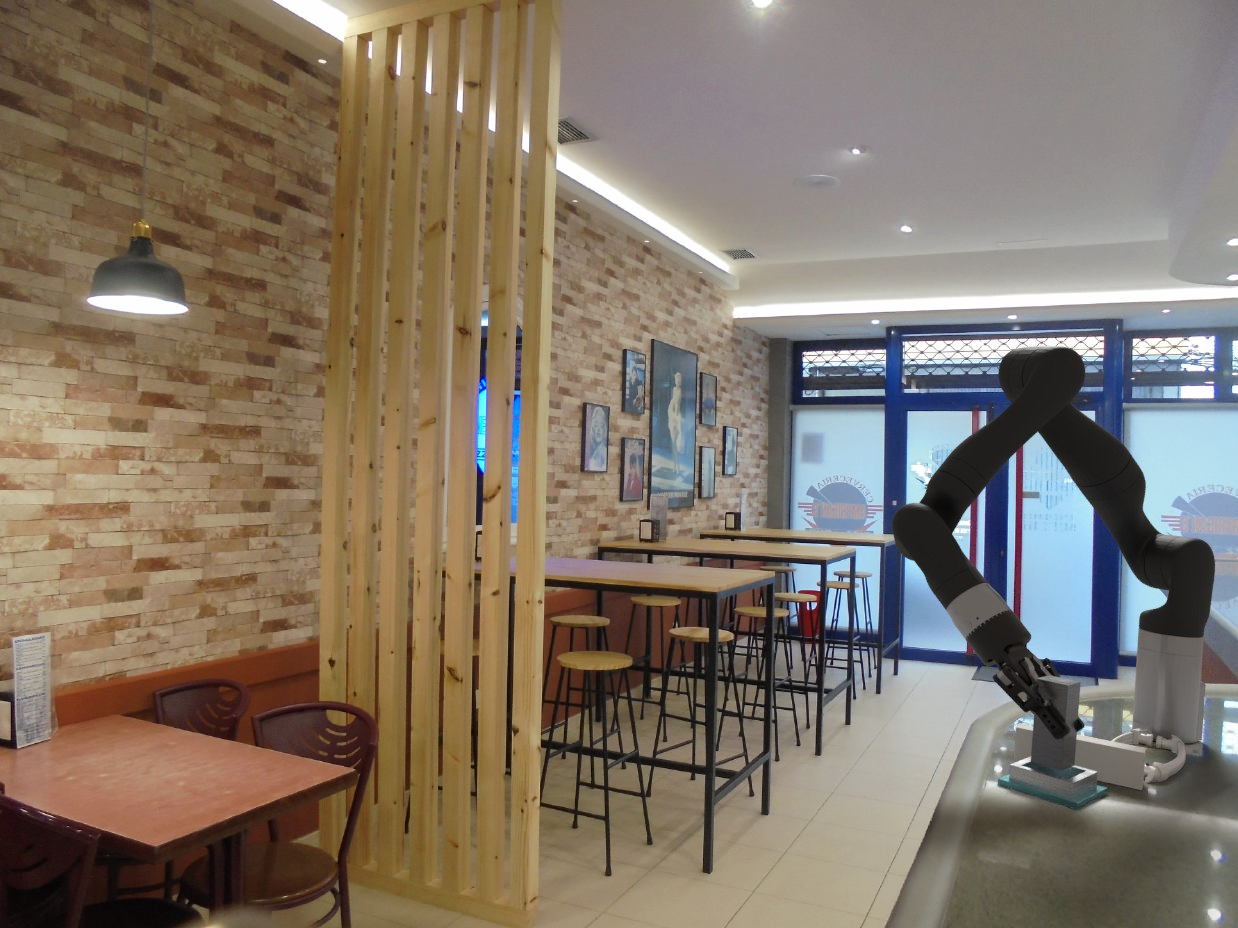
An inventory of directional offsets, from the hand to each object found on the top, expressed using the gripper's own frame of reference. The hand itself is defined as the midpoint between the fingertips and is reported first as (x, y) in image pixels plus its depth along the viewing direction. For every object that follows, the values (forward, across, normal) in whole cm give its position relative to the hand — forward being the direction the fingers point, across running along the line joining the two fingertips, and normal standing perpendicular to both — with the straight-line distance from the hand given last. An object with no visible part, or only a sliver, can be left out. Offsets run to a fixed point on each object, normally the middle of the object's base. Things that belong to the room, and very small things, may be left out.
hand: (1071, 732), depth 116 cm
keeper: (+4, 0, +7) cm, 8 cm away
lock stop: (+2, 0, +5) cm, 5 cm away
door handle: (+7, +27, +6) cm, 29 cm away
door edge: (+4, +10, +8) cm, 13 cm away
